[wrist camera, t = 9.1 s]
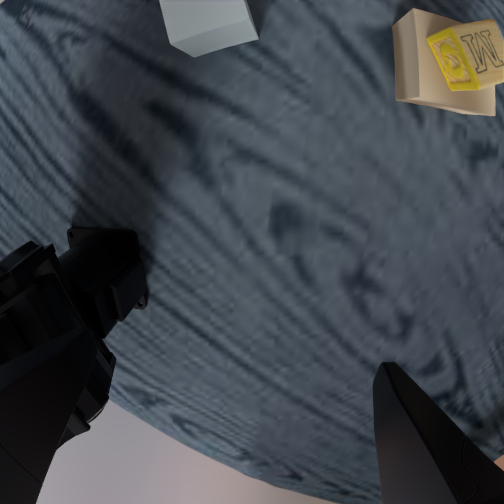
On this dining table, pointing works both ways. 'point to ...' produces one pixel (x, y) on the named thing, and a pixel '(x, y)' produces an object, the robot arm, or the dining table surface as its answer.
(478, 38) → the alphabet block
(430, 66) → the beech block
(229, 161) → the dining table surface
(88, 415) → the robot arm
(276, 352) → the dining table surface
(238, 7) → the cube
